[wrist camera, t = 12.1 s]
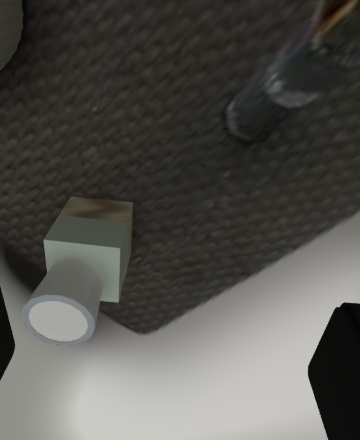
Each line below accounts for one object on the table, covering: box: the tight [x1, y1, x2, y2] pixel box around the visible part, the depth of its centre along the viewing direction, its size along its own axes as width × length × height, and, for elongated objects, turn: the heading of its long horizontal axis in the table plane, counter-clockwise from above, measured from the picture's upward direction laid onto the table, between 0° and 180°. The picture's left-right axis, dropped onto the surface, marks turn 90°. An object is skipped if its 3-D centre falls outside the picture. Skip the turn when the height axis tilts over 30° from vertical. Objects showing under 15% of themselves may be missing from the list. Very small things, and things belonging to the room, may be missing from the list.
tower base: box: [60, 196, 133, 274], centre depth 44 cm, size 8×8×5 cm
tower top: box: [44, 215, 128, 302], centre depth 40 cm, size 8×8×5 cm
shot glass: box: [22, 254, 104, 346], centre depth 35 cm, size 7×7×7 cm
